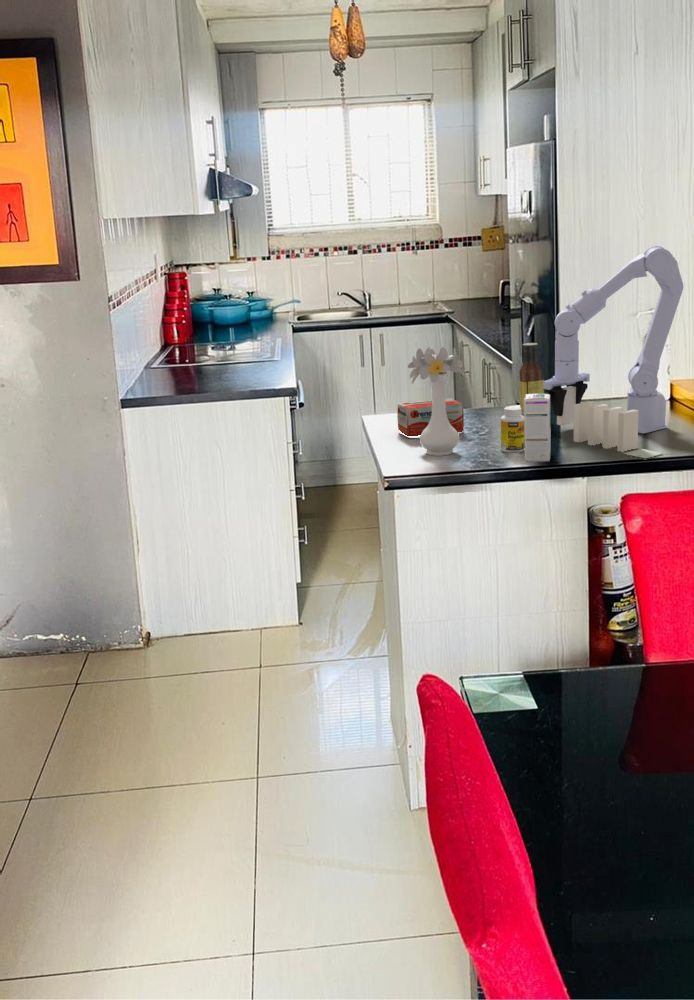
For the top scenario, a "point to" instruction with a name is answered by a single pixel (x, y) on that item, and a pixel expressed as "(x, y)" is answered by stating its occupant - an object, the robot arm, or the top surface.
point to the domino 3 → (595, 424)
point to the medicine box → (427, 416)
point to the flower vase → (437, 398)
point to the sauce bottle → (530, 373)
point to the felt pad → (643, 453)
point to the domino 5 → (627, 430)
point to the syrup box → (537, 427)
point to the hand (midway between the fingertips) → (566, 413)
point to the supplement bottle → (512, 430)
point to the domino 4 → (610, 427)
